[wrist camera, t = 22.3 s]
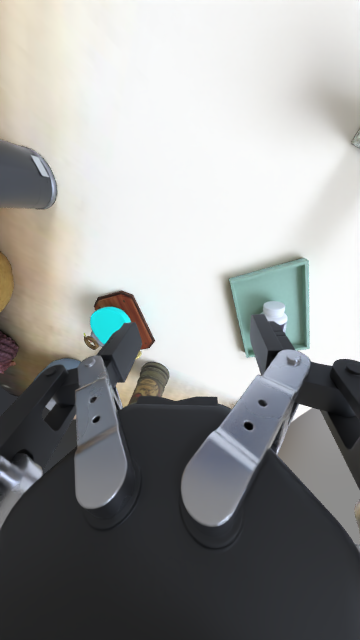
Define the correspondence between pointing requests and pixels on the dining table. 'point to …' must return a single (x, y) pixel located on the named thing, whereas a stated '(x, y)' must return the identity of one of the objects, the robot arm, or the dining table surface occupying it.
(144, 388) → the container
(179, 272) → the dining table surface
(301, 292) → the tray
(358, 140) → the cosmetic box
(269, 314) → the pill bottle
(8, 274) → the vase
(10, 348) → the pine cone
